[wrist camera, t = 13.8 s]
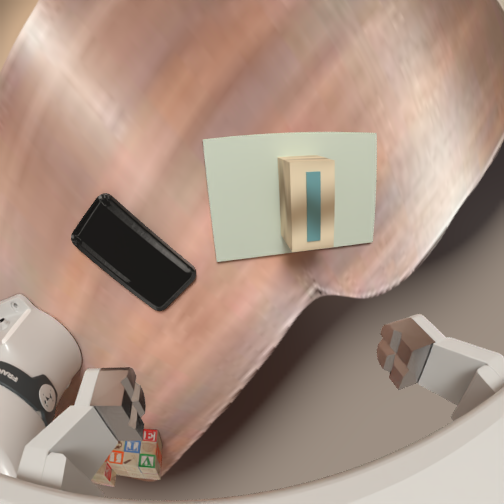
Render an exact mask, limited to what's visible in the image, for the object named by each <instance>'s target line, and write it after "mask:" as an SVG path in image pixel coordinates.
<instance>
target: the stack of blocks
mask: <svg viewBox="0 0 504 504" xmlns="http://www.w3.org/2000/svg"><path fill="white" fill-rule="evenodd" d="M161 461H162V443H161V440H160V436H159V432H158V430H150V429H144V432H143V441H118V444H117V445H116V446H115V448H114V449H113V450H112V452H111V453H110V455H109V456H108V457H107V459H106V460H105V461H104V463H103V464H102V466H101V467H100V468H99V470H98V471H97V472H96V474H95V475H94V477H93V478H92V479H91V481H92V482H93V483H95V484H101V485H106V486H111V487H115V481H116V475H121V476H129V477H135V478H144V479H145V478H146V479H155V480H160V479H161Z"/></svg>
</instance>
